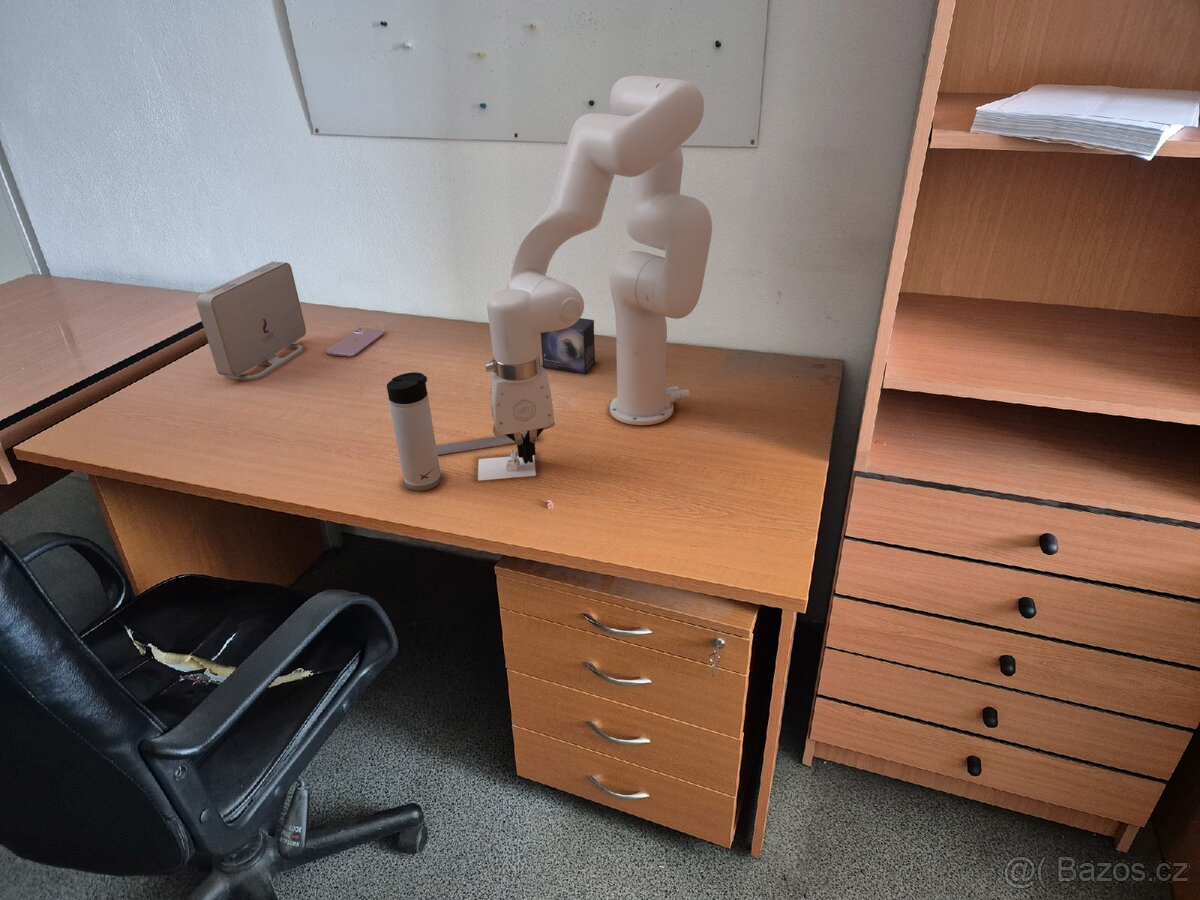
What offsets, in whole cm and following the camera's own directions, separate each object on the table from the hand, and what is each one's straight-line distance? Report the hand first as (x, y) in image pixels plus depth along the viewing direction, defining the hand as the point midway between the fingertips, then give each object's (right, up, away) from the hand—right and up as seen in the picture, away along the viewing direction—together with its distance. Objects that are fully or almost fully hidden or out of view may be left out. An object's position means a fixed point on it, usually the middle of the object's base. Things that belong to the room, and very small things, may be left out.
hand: (527, 458), depth 138 cm
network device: (-64, +22, +42) cm, 79 cm away
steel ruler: (-9, +3, +7) cm, 12 cm away
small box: (+6, +20, +35) cm, 41 cm away
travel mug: (-18, -4, -3) cm, 18 cm away
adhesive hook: (-4, -2, 0) cm, 4 cm away
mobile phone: (-46, +27, +49) cm, 72 cm away
